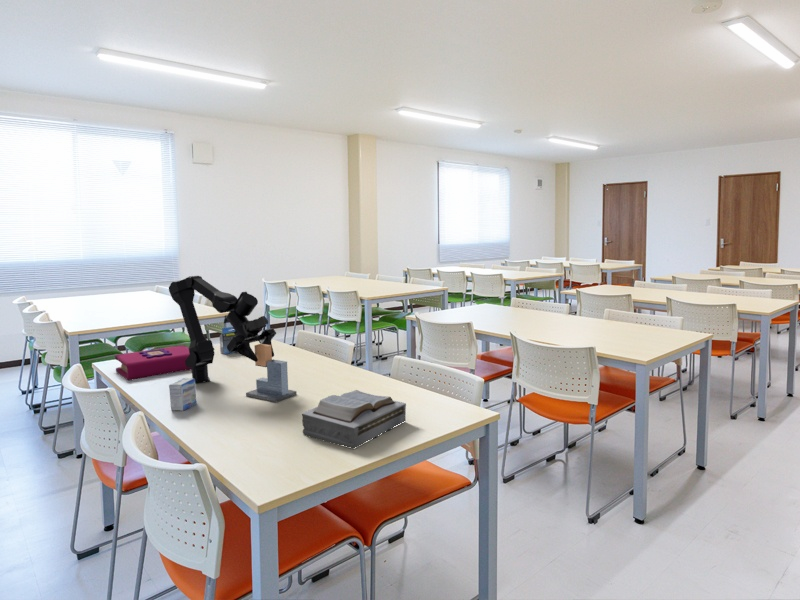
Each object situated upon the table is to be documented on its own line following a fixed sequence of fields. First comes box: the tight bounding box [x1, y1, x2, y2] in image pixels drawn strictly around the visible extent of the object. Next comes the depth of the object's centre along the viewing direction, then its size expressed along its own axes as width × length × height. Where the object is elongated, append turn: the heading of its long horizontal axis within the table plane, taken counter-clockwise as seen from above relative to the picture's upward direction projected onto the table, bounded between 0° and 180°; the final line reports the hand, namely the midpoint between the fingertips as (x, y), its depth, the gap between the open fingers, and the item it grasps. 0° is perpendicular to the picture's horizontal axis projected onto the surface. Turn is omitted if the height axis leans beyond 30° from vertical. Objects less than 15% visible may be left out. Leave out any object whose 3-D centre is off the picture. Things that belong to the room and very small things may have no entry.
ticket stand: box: [245, 358, 298, 403], centre depth 187 cm, size 14×10×12 cm
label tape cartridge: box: [219, 326, 239, 355], centre depth 254 cm, size 9×4×12 cm, turn 130°
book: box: [114, 344, 192, 381], centre depth 225 cm, size 21×28×8 cm
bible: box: [301, 389, 407, 449], centre depth 155 cm, size 23×27×10 cm
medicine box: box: [168, 377, 198, 412], centre depth 176 cm, size 8×4×9 cm, turn 168°
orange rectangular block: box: [254, 343, 273, 368], centre depth 188 cm, size 5×3×7 cm, turn 59°
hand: (265, 358), depth 187 cm, fingers open, 7 cm apart
